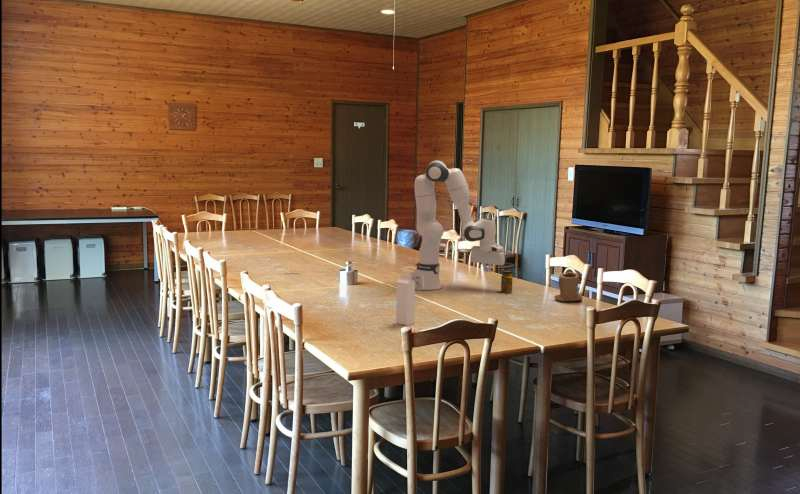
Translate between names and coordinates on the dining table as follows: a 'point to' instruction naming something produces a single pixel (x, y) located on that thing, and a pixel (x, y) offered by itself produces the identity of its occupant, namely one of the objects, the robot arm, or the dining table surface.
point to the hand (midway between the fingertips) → (487, 271)
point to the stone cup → (568, 287)
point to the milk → (405, 300)
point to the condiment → (506, 283)
